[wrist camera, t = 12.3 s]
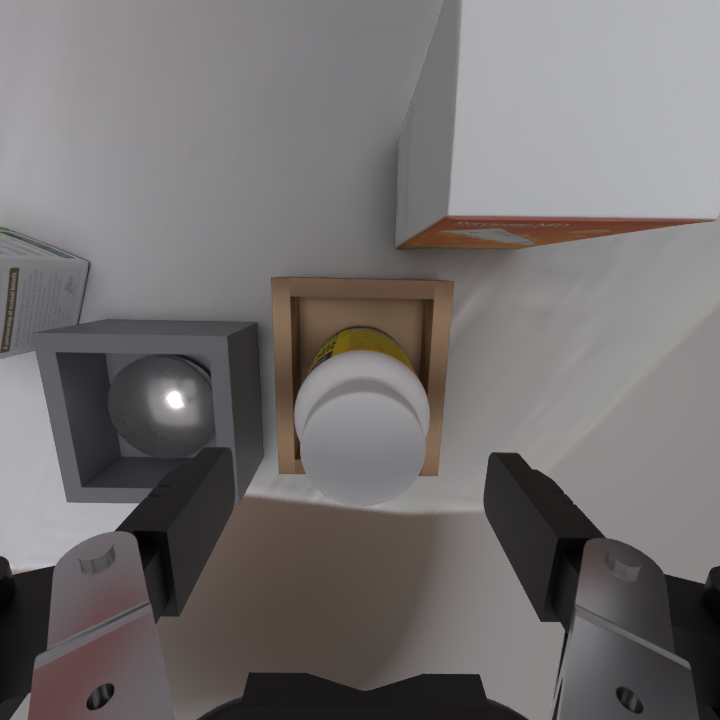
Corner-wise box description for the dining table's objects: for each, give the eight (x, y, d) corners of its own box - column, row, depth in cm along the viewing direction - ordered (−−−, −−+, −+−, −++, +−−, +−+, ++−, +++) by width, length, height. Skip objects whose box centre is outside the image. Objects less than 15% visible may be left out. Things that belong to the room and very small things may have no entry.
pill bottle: (324, 314, 23) (295, 351, 12) (417, 335, 23) (470, 391, 12) (306, 402, 24) (264, 506, 13) (393, 421, 24) (421, 538, 14)
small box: (393, 250, 22) (440, 220, 10) (397, 139, 21) (457, -66, 8) (519, 251, 23) (726, 222, 10) (531, 141, 21) (795, -60, 8)
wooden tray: (285, 276, 23) (271, 277, 19) (438, 280, 23) (453, 281, 19) (290, 445, 26) (279, 473, 22) (426, 446, 26) (437, 475, 22)
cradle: (106, 319, 23) (32, 332, 18) (256, 322, 23) (226, 336, 18) (127, 455, 26) (66, 502, 20) (263, 456, 26) (239, 504, 20)
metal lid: (109, 353, 21) (99, 356, 20) (218, 355, 21) (212, 358, 21) (124, 451, 23) (116, 458, 22) (225, 453, 23) (221, 459, 22)
